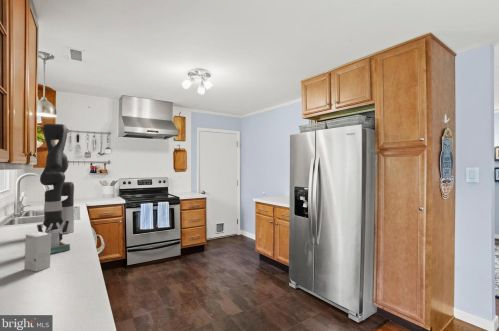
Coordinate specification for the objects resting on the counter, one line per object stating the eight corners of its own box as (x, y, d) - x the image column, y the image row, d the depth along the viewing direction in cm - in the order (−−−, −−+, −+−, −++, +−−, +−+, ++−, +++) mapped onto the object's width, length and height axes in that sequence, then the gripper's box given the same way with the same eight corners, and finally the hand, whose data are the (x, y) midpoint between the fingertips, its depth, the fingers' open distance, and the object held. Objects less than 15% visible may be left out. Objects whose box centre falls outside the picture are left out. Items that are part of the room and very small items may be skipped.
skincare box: (23, 269, 112) (23, 234, 112) (39, 264, 118) (39, 231, 118) (36, 272, 109) (36, 236, 109) (51, 267, 115) (51, 232, 115)
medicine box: (59, 246, 138) (59, 229, 138) (48, 248, 135) (48, 231, 135) (57, 243, 144) (57, 227, 144) (47, 244, 141) (47, 228, 141)
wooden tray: (34, 246, 145) (34, 240, 145) (53, 242, 152) (53, 237, 152) (48, 254, 131) (48, 248, 131) (69, 250, 138) (69, 244, 138)
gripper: (38, 212, 131) (38, 246, 131) (71, 208, 143) (71, 240, 143) (33, 210, 136) (34, 244, 136) (66, 207, 147) (66, 237, 147)
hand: (53, 241), depth 139 cm, fingers closed on medicine box, 5 cm apart
